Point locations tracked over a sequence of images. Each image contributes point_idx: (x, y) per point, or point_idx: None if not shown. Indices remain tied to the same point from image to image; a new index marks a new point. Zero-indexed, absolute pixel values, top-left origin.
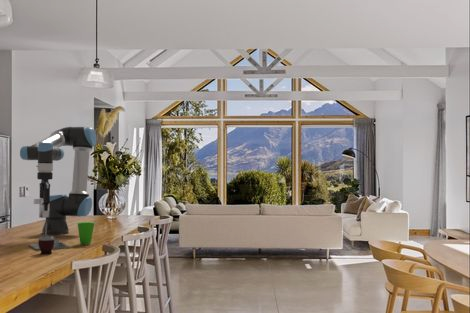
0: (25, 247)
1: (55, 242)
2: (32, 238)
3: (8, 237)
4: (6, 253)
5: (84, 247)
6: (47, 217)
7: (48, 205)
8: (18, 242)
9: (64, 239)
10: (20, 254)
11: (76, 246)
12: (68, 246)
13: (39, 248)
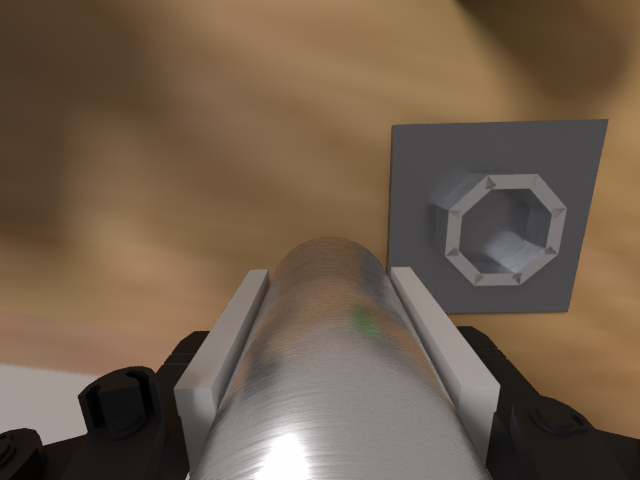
0: None
1: (557, 202)
2: (69, 239)
3: (3, 347)
4: None
5: (619, 8)
6: (382, 267)
7: (420, 351)
8: None
9: (165, 47)
10: (633, 384)
11: (542, 53)
12: (592, 123)
13: (567, 294)
